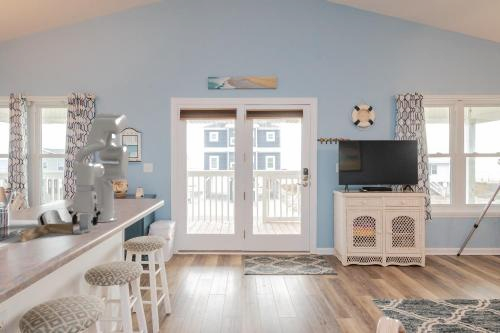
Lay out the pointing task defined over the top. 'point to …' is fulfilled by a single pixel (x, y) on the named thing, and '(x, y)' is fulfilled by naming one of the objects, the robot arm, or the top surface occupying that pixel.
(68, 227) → the wooden corner frame
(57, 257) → the top surface
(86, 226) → the bracket
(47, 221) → the hinge
